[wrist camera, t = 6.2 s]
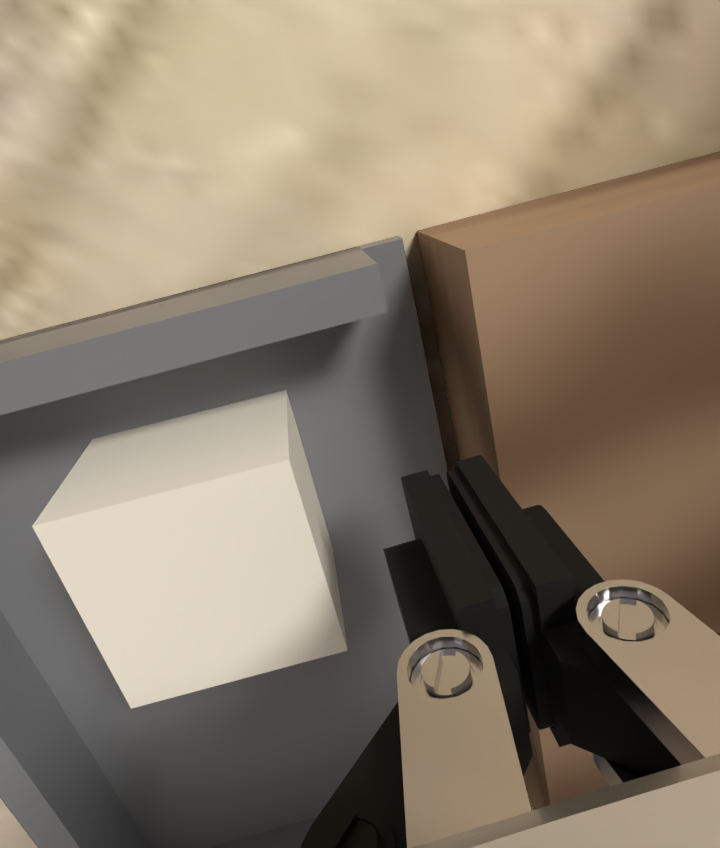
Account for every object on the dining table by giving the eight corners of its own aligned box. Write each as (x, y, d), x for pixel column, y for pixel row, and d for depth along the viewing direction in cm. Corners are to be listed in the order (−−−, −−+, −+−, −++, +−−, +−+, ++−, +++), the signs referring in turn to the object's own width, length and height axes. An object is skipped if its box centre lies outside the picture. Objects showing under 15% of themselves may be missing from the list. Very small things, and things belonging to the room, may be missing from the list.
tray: (-169, 384, 14) (-276, 435, 11) (397, 236, 14) (425, 250, 12) (146, 868, 22) (128, 965, 19) (502, 764, 23) (533, 846, 20)
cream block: (289, 460, 11) (286, 389, 15) (32, 526, 11) (92, 438, 15) (347, 650, 13) (332, 547, 17) (131, 708, 13) (162, 592, 17)
